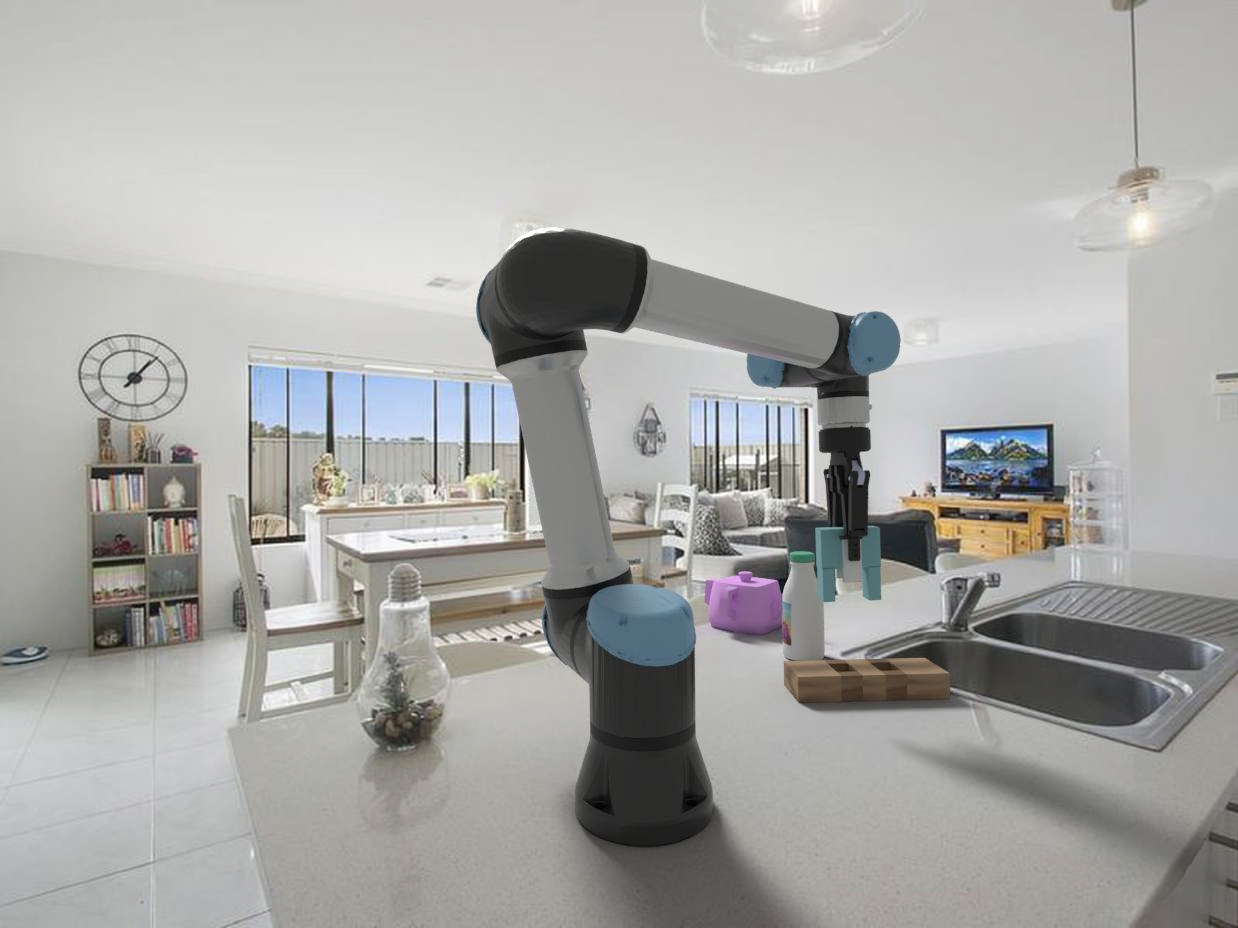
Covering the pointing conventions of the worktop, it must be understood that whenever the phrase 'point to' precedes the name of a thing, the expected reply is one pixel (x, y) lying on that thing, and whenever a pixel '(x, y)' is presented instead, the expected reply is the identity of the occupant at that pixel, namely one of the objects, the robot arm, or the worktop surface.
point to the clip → (832, 559)
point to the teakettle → (744, 603)
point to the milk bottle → (802, 611)
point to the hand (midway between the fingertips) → (848, 579)
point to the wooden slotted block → (866, 680)
